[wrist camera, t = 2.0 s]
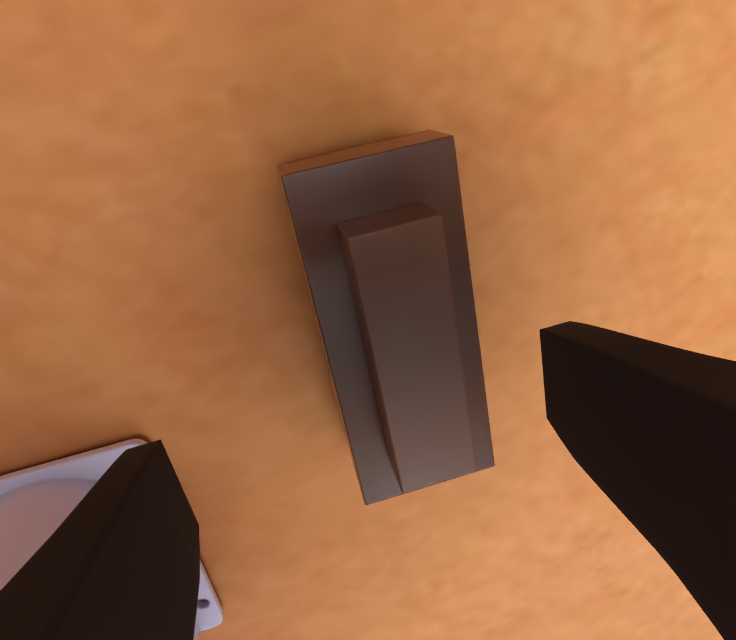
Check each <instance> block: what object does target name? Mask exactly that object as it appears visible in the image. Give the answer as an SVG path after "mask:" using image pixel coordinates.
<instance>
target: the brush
mask: <svg viewBox="0 0 736 640" xmlns="http://www.w3.org/2000/svg"><path fill="white" fill-rule="evenodd" d="M277 172H278V175H279V179H280V183H281V187H282V191H283V195H284V199H285V202H286V206H287V210H288V214H289V218H290V222H291V226H292V229H293V233H294V237H295V241H296V245H297V249H298V253H299V257H300V260H301V264H302V268H303V272H304V276H305V280H306V284H307V287H308V291H309V295H310V299H311V303H312V307H313V311H314V314H315V318H316V322H317V326H318V330H319V334H320V338H321V341H322V345H323V349H324V353H325V357H326V361H327V365H328V369H329V372H330V376H331V380H332V384H333V388H334V392H335V396H336V399H337V403H338V407H339V411H340V415H341V419H342V423H343V426H344V430H345V434H346V438H347V442H348V446H349V450H350V454H351V457H352V461H353V465H354V469H355V472H356V476H357V479H358V482H359V486H360V489H361V492H362V496H363V499H364V502H365V505H369V504H372V503H376V502H379V501H382V500H385V499H389V498H392V497H395V496H398V495H402V494H405V493H408V492H411V491H415V490H418V489H421V488H424V487H428V486H431V485H434V484H437V483H441V482H444V481H447V480H450V479H454V478H457V477H460V476H463V475H467V474H470V473H473V472H476V471H480V470H483V469H486V468H489V467H493V466H494V456H493V448H492V440H491V432H490V424H489V416H488V408H487V400H486V392H485V384H484V376H483V368H482V360H481V352H480V344H479V336H478V328H477V320H476V312H475V304H474V296H473V288H472V280H471V271H470V263H469V255H468V247H467V239H466V231H465V223H464V215H463V207H462V199H461V191H460V183H459V175H458V167H457V159H456V151H455V143H454V136H453V135H449V134H445V133H440V132H436V131H432V130H427V131H422V132H418V133H414V134H409V135H405V136H401V137H397V138H392V139H388V140H384V141H379V142H375V143H371V144H367V145H362V146H358V147H354V148H349V149H345V150H341V151H337V152H332V153H328V154H324V155H319V156H315V157H311V158H307V159H302V160H298V161H294V162H289V163H285V164H281V165H277Z"/></svg>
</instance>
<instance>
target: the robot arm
mask: <svg viewBox="0 0 736 640" xmlns="http://www.w3.org/2000/svg"><path fill="white" fill-rule="evenodd" d="M540 340H541V353H542V365H543V377H544V389H545V402H546V414H547V419H548V421H549V422H550V424H551V425H552V427H553V428H554V430H555V431H556V433H557V434H558V436H559V437H560V439H561V440H562V442H563V443H564V445H565V446H566V448H567V449H568V450H569V452H570V453H571V455H572V456H573V458H574V459H575V460H576V461H577V463H578V464H579V465H580V466H581V467H582V468H583V469H584V471H585V472H586V473H587V474H588V475H589V476H590V477H591V478H592V480H593V481H594V482H595V483H596V484H597V485H598V486H599V487H600V489H601V490H602V491H603V492H604V493H605V494H606V495H607V496H608V497H609V499H610V500H611V501H612V502H613V503H614V504H615V505H616V506H617V507H618V509H619V510H620V511H621V512H622V513H623V514H624V515H625V516H626V517H627V518H628V520H629V521H630V522H631V523H632V524H633V525H634V526H635V527H636V528H637V530H638V531H639V532H640V533H641V534H642V535H643V536H644V537H645V538H646V539H647V541H648V542H649V543H650V544H651V545H652V546H653V547H654V548H655V549H656V551H657V552H658V553H659V554H660V555H661V557H662V558H663V559H664V560H665V561H666V563H667V564H668V565H669V566H670V567H671V569H672V570H673V571H674V572H675V573H676V575H677V576H678V577H679V579H680V580H681V581H682V583H683V584H684V585H685V587H686V588H687V590H688V591H689V592H690V594H691V595H692V596H693V598H694V599H695V600H696V602H697V603H698V604H699V606H700V607H701V608H702V610H703V611H704V612H705V614H706V615H707V616H708V618H709V619H710V621H711V622H712V623H713V625H714V626H715V627H716V629H717V630H718V632H719V633H720V635H721V636H722V637H723V639H724V640H736V361H732V360H727V359H722V358H718V357H713V356H709V355H704V354H700V353H696V352H692V351H688V350H684V349H680V348H676V347H672V346H668V345H664V344H660V343H657V342H653V341H649V340H645V339H642V338H638V337H634V336H631V335H627V334H623V333H619V332H616V331H612V330H608V329H604V328H600V327H596V326H592V325H588V324H583V323H578V322H572V321H568V322H565V323H561V324H558V325H554V326H551V327H547V328H544V329H541V330H540ZM200 599H206V600H200ZM222 620H223V609H222V607H221V604H220V602H219V600H218V598H217V595H216V593H215V591H214V589H213V586H212V584H211V582H210V580H209V577H208V575H207V573H206V571H205V568H204V566H203V564H202V562H201V559H200V545H199V524H198V522H197V520H196V518H195V515H194V513H193V511H192V509H191V506H190V504H189V502H188V500H187V497H186V495H185V493H184V491H183V489H182V486H181V484H180V482H179V480H178V477H177V475H176V473H175V471H174V468H173V466H172V464H171V462H170V459H169V457H168V455H167V453H166V450H165V448H164V446H163V444H162V441H161V439H160V440H157V441H154V442H150V443H147V442H146V441H144V440H141V439H130V440H126V441H123V442H119V443H116V444H112V445H109V446H105V447H101V448H98V449H94V450H91V451H87V452H84V453H80V454H76V455H73V456H69V457H66V458H62V459H59V460H55V461H51V462H48V463H44V464H41V465H37V466H34V467H30V468H26V469H23V470H19V471H16V472H12V473H9V474H5V475H2V476H0V640H199V634H200V632H202V631H205V630H208V629H211V628H214V627H216V626H218V625H219V624H220V623H221V622H222Z"/></svg>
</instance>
